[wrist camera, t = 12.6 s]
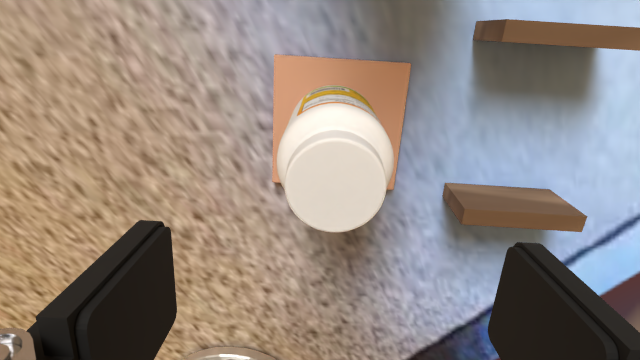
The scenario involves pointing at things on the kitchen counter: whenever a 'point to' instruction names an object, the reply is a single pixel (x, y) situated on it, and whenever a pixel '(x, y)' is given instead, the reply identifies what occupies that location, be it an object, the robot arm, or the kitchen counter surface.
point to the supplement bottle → (334, 160)
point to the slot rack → (531, 203)
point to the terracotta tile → (360, 75)
